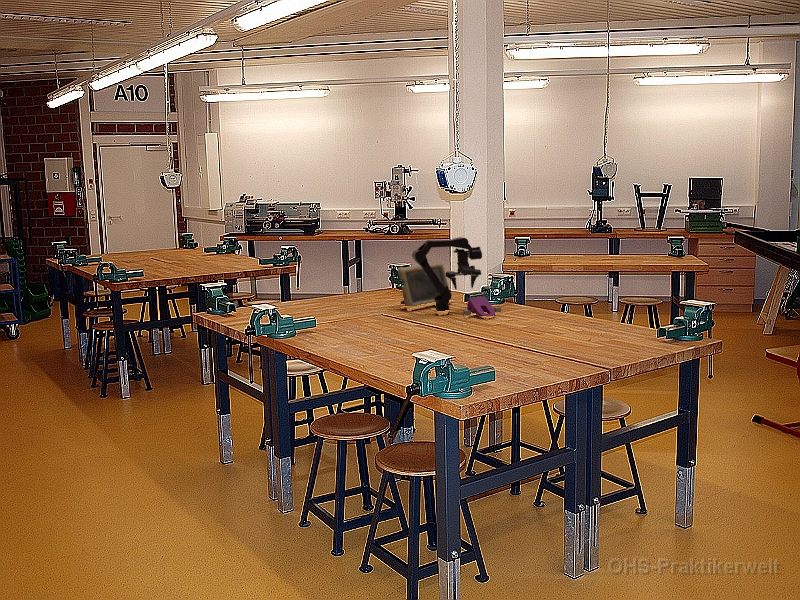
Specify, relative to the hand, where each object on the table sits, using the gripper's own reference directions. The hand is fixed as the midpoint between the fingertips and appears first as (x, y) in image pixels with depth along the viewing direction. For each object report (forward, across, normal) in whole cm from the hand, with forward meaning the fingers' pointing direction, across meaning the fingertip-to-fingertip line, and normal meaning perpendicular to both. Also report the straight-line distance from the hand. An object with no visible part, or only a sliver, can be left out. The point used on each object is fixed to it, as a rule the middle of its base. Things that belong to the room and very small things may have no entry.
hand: (464, 289), depth 448 cm
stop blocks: (+13, +4, -17) cm, 22 cm away
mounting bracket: (+14, +4, -17) cm, 22 cm away
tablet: (+13, -14, +30) cm, 35 cm away
